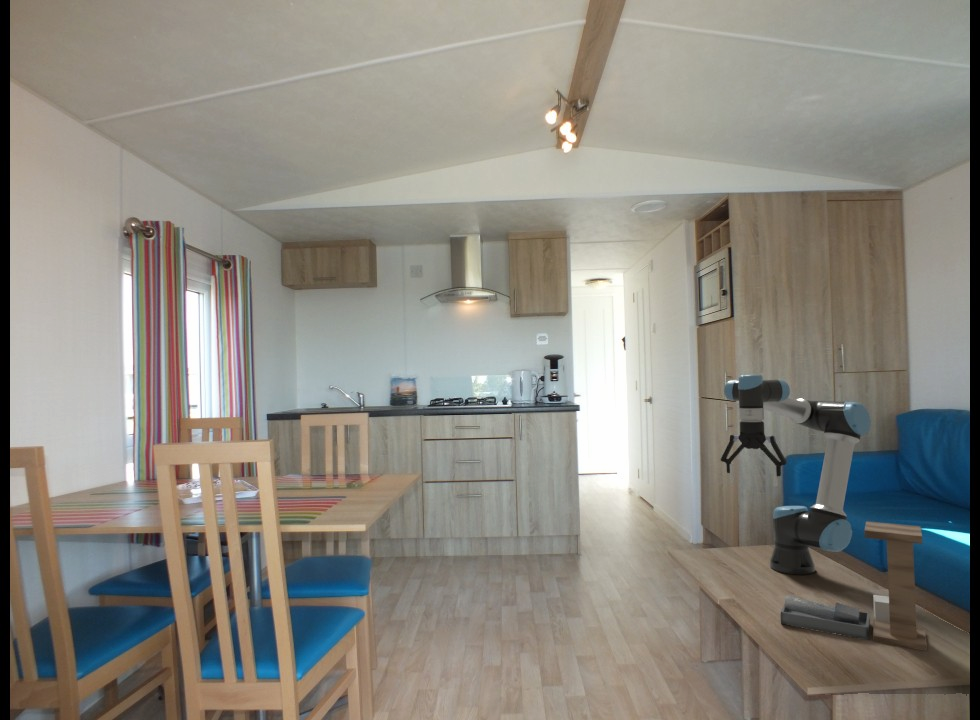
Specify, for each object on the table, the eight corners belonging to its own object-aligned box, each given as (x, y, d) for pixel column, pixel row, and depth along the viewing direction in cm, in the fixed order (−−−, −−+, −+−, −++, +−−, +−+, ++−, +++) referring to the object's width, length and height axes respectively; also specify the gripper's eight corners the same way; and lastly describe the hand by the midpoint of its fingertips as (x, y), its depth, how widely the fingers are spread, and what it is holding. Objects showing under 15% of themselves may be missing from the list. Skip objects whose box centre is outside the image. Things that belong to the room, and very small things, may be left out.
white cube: (897, 617, 183) (896, 597, 183) (900, 625, 178) (899, 604, 178) (873, 614, 186) (873, 594, 186) (875, 621, 181) (874, 601, 181)
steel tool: (786, 602, 188) (787, 589, 188) (857, 622, 178) (859, 608, 178) (783, 609, 182) (784, 596, 182) (857, 631, 172) (859, 617, 172)
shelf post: (870, 624, 178) (866, 521, 179) (924, 634, 171) (920, 526, 172) (868, 640, 168) (864, 530, 169) (926, 651, 161) (922, 536, 162)
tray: (786, 610, 190) (786, 599, 191) (870, 624, 178) (869, 612, 179) (781, 624, 180) (780, 612, 181) (868, 640, 168) (868, 627, 168)
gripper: (710, 420, 209) (712, 483, 208) (791, 422, 195) (793, 489, 194) (715, 419, 215) (717, 480, 214) (794, 420, 201) (796, 485, 201)
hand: (753, 484), depth 204 cm, fingers open, 13 cm apart
